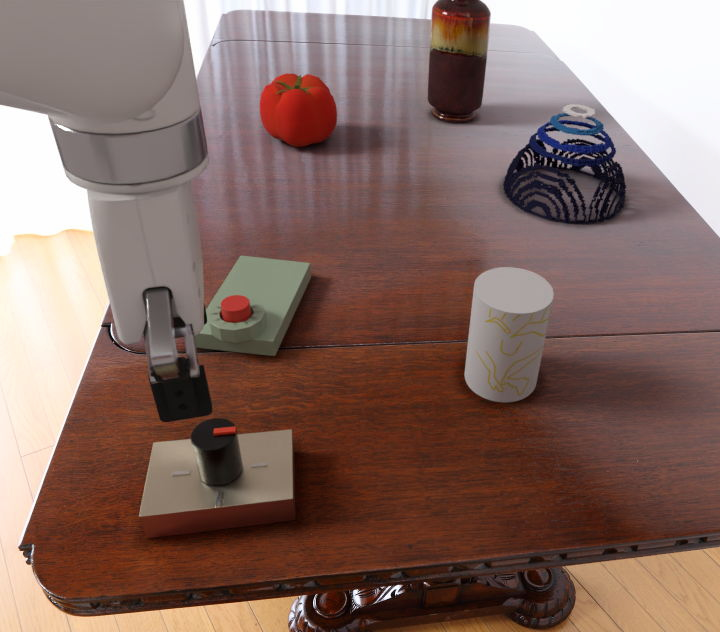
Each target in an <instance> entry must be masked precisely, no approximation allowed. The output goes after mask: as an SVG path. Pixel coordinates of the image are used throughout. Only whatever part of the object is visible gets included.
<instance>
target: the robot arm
mask: <svg viewBox="0 0 720 632" xmlns="http://www.w3.org/2000/svg"><path fill="white" fill-rule="evenodd" d="M197 81H198V80H197V75H196V68H195V63H194V56H193V51H192V43H191V39H190V33H189V27H188V20H187V13H186V7H185V2H184V0H0V106H3V107H9V108H14V109H19V110H24V111H29V112H33V113H39V114H41V115H46V116H47V117H48V121H49V124H50V127H51V131H52V134H53V137H54V141H55V144H56V148H57V150H58V151H57V152H58V154H59V158H60V160H61V164H62V168H63V171H64V175H65V176H66V178H67V179H68V180H69V182H71V183H72V184H74V185H76V186H78V187H80V188H81V189H82V188H83V189H85V190H86V193H87V200H88V208H89V214H90V220H91V227H92V233H93V236H94V237H93V238H94V241H95V246H96V252H97V256H98V260H99V263H100V269H101V272H102V277H103V280H104V281H103V282H104V285H105V289H106V293H107V297H108V301H109V306H110V309H111V314H112V318H113V321H114V326H115V330H116V334H117V338H118V340H119V341H120V342H121V343H122V344H124V345H126V346H130V345H132V344H140V343H141V342H142V338H143V340H144V341H143V342H144V349H145V355H146V362H147V369H148V382H149V385H150V389H151V392H152V396H153V400H154V403H155V407H156V410H157V414H158V418H159V420H160V421H161V422H163V423H171V422H177V421H184V420H190V419H194V418H201V417H206V416H207V417H208V416H210V415H211V414H212V413H213V401H212V398H211V393H210V388H209V383H208V379H207V374H206V369H205V365H204V364H199V357H198V356H199V355H198V350H197V349H198V348H196V341H195V336H196V335H197V334H199V333H200V332H201V330H202V329H203V328H204V325H205V324H206V323H207V314H206V309H207V308H206V304H205V289H204V287H205V284H204V262H203V252H202V251H203V250H202V240H201V233H200V225H199V218H198V212H197V206H196V200H195V193H194V187H193V182H192V180H194V179H196V178H197V177H199V176H200V175H201V174H202V173H204V171H205V170H206V169H208V166H209V164H210V156H209V149H208V143H207V137H206V131H205V124H204V118H203V113H202V106H201V100H200V94H199V88H198V82H197ZM180 338H183V339H184V346H185V353H186V357H185V356H179V351H178V349H177V348H178V347H177V343H176V339H180Z"/></svg>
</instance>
